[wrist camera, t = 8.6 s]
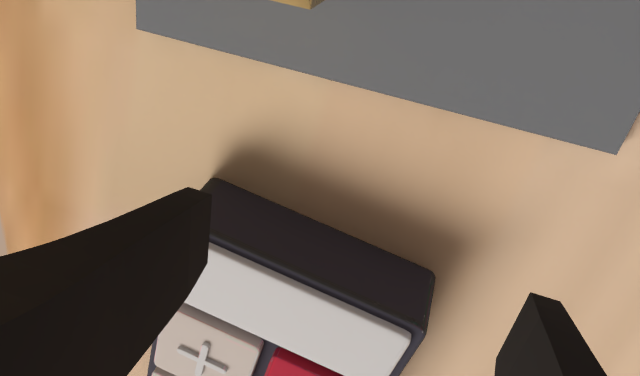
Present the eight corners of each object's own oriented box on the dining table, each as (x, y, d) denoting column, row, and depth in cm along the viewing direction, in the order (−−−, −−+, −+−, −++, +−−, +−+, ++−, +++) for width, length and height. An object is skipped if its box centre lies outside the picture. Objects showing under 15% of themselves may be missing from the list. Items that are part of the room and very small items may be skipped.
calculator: (132, 423, 29) (160, 226, 20) (173, 361, 32) (211, 171, 23) (315, 510, 28) (427, 346, 19) (336, 438, 31) (439, 270, 23)
